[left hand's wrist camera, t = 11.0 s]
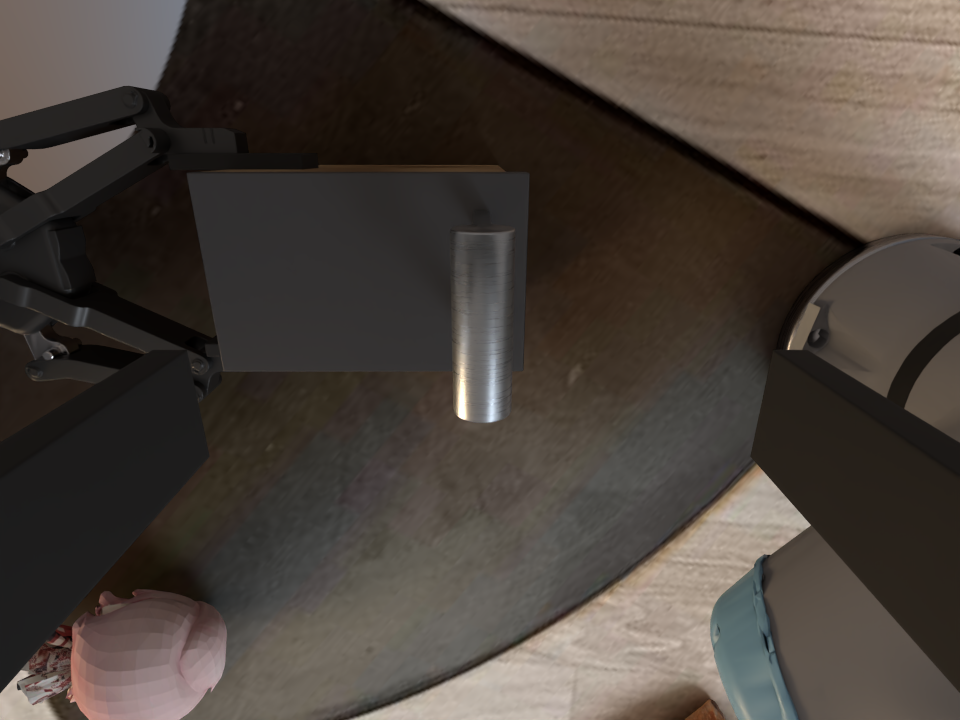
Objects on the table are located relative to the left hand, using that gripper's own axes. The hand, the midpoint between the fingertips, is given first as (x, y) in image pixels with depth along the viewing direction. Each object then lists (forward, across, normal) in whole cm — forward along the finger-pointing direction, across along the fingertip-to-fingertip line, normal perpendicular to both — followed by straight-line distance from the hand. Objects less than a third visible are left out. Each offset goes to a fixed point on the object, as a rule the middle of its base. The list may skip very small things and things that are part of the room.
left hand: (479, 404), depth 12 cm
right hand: (+18, -9, 0) cm, 20 cm away
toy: (+25, -28, -33) cm, 50 cm away
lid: (+14, -5, 0) cm, 15 cm away
